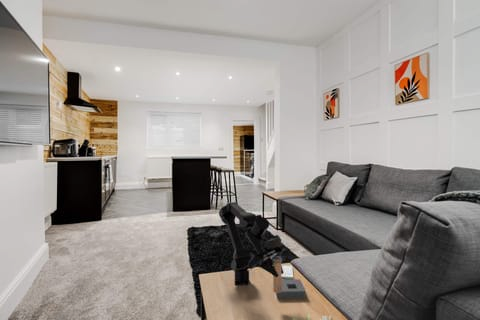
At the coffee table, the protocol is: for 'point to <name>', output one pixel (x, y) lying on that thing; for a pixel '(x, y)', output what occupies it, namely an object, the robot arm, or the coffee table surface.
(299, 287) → the grey peg base
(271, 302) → the coffee table surface
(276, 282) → the plug
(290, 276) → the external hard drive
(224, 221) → the robot arm
